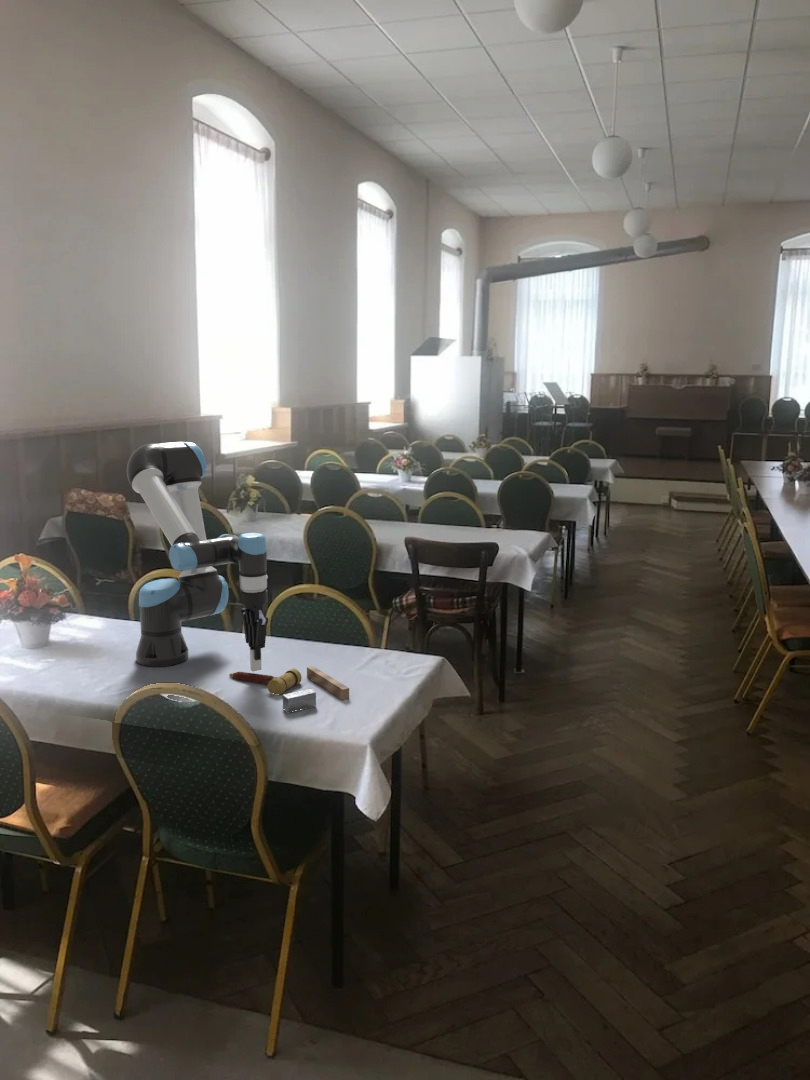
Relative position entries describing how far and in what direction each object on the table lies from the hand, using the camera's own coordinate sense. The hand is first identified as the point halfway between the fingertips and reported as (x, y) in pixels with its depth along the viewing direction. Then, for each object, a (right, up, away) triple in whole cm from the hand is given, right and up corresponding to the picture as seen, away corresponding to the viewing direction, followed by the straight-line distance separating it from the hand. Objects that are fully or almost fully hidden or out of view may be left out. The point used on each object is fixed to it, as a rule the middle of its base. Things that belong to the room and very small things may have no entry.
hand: (256, 669), depth 241 cm
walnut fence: (+21, -4, -7) cm, 22 cm away
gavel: (+2, -4, -4) cm, 6 cm away
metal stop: (+15, -7, -21) cm, 27 cm away
